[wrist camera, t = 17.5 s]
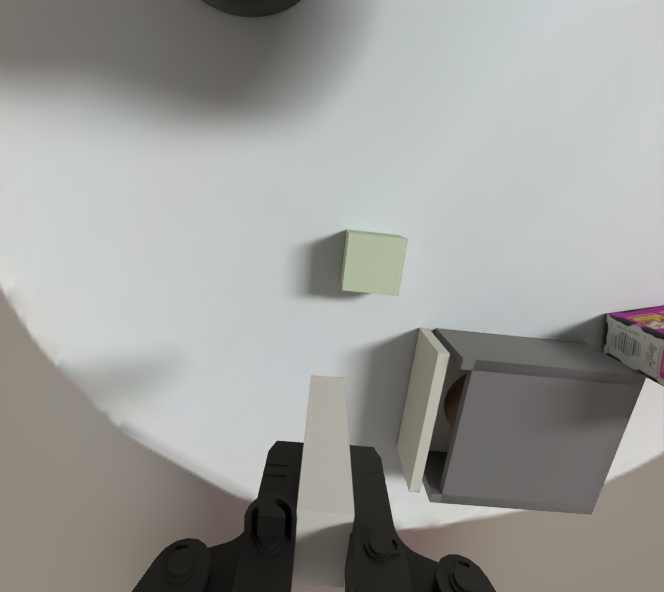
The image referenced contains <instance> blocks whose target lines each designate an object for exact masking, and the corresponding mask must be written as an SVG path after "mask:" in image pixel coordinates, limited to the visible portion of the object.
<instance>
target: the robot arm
mask: <svg viewBox="0 0 664 592" xmlns="http://www.w3.org/2000/svg"><path fill="white" fill-rule="evenodd" d="M203 1H204V2H206V3H207V4H209V5H211V6H213V7H215V8H217V9H219V10H222V11H224V12H227V13H231V14H234V15H240V16H248V17H257V16H266V15H271V14H274V13H278V12H280V11H283V10H285V9H287V8H289V7H291V6H293V5H295V4H296V3H298V2H299V1H300V0H203ZM244 521H245V522H244V523H245V524H244V532H243V533H242V534H241V535H240V536H238V537H237V538H235V539H234V540H232V541H229V542H227V543H224V544H220V545H217V546H213V547H210V548H207V546H206V545H205V544H204V543H203V542H201V541H200V540H198V539H190V538H187V539H183V540H179V541H176V542H174V543H173V544H171V545H169V546H168V547H166V548H165V549H164V550H163V551H162V552H161V553H160V554H159V555H158V556H157V557H156V559H155V560H154V562H153V563H152V565H151V566H150V567H149V569H148V570H147V571H146V573H145V574H144V575H143V577H142V578H141V580H140V581H139V582H138V584H137V585H136V587H135V588H134V589H133V591H132V592H291V586H292V584H298V585H315V586H331V587H344V581H345V592H496V591H495V589H494V587H493V586H492V584H491V583H490V581H489V579H488V578H487V576H486V575H485V574H484V573H483V571H482V570H481V569H480V567H479V566H477V565H476V564H475V563H473V562H472V561H471V560H470V559H468V558H465V557H463V556H460V555H454V554H453V555H452V554H449V555H447V556H445V557H443V558H441V559H440V561H439V563H438V562H436V561H433V560H431V559H429V558H426V557H424V556H421V555H419V554H417V553H415V552H413V551H412V550H411V549H409V548H408V547H407V546H406V545H405V544H404V543H403V542H402V541H401V539H400V538H399V537H398V535H397V533H396V531H395V527H394V524H393V519H392V514H391V508H390V503H389V498H388V493H387V487H386V484H385V477H384V474H383V466H382V461H381V458H380V456H379V455H378V453H377V452H376V450H375V449H374V447H365V446H352V445H349V433H348V419H347V406H346V393H345V380H344V378H339V377H326V376H314V375H311V381H310V390H309V400H308V409H307V419H306V428H305V437H304V443H300V442H287V441H276V443H275V444H274V445H273V446H272V448H271V449H270V450H269V452H268V456H267V460H266V465H265V468H264V472H263V477H262V481H261V485H260V489H259V493H258V497H257V499H256V500H254V501H253V502H252V503H251V504H250V505H249V507H248V509H247V511H246V513H245V519H244Z"/></svg>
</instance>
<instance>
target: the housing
mask: <svg viewBox="0 0 664 592" xmlns="http://www.w3.org/2000/svg"><path fill="white" fill-rule="evenodd" d="M435 337H436V338H437V339H438V340H439V341H440V343H441V344H442V345H443V346H444V347H445V349H446V350H447V351H448V352H449V353H450V357H451V358H452V359H453V360H454V362H455V363H456V364H457V365H458V366H459V368H460V369H464V370H467V374H466V378H465V382H464V387H463V391H462V395H461V399H460V403H459V407H458V412H457V416H456V420H455V424H454V428H453V432H452V437H451V441H450V445H449V449H448V452H440V451H428V455H427V460H426V465H425V469H424V474H423V478H422V481H423V484H424V487H425V490H426V493H427V496H428V498H429V501H430V502H435V503H448V504H461V505H474V506H487V507H500V508H513V509H526V510H539V511H553V512H565V513H578V514H592V512H593V509H594V507H595V504H596V502H597V499H598V497H599V494H600V492H601V489H602V487H603V484H604V482H605V479H606V477H607V474H608V472H609V469H610V467H611V464H612V462H613V459H614V457H615V454H616V452H617V449H618V447H619V444H620V442H621V439H622V437H623V434H624V432H625V429H626V427H627V424H628V421H629V419H630V416H631V414H632V411H633V409H634V406H635V404H636V401H637V399H638V396H639V394H640V391H641V389H642V386H643V384H644V381H645V379H646V375H644V374H642V373H640V372H638V371H636V370H634V369H632V368H631V367H629V366H627V365H625V364H623V363H621V362H619V361H617V360H615V359H614V358H612V357H610V356H608V355H606V354H604V353H602V352H600V351H598V350H596V349H595V348H593V347H591V346H589V345H587V344H585V343H578V342H568V341H558V340H548V339H538V338H528V337H518V336H508V335H498V334H488V333H478V332H468V331H458V330H448V329H438V328H436V332H435Z"/></svg>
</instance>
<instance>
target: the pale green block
mask: <svg viewBox="0 0 664 592" xmlns="http://www.w3.org/2000/svg"><path fill="white" fill-rule="evenodd" d="M407 242H408V239H406V238H404V237H401V236H399V235H391V234H382V233H373V232H364V231H355V230H346V238H345V246H344V255H343V263H342V271H341V280H340V281H341V286H342V290H344V291H354V292H364V293H373V294H383V295H393V296H399V290H400V284H401V278H402V272H403V266H404V260H405V254H406V248H407Z"/></svg>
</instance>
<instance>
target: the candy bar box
mask: <svg viewBox="0 0 664 592" xmlns="http://www.w3.org/2000/svg"><path fill="white" fill-rule="evenodd" d="M603 353H604V354H606V355H608V356H610V357H612V358H614V359H615V360H617V361H619V362H621V363H623V364H625V365H627V366H629V367H631V368H632V369H634V370H636V371H638V372H640V373H642V374H644V375H646V377H647V378H649V379H651V380H653V381H655V382H657V383H658V384H660V385H662V386H664V306H659V307H652V308H645V309H638V310H631V311H624V312H617V313H610V314H607V315H606V321H605V334H604V341H603Z"/></svg>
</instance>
